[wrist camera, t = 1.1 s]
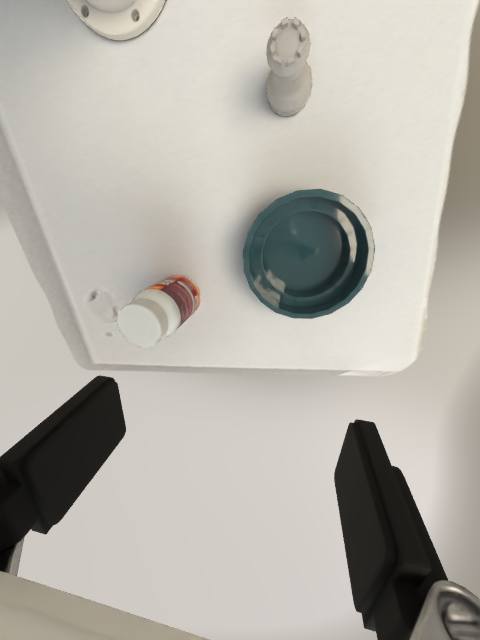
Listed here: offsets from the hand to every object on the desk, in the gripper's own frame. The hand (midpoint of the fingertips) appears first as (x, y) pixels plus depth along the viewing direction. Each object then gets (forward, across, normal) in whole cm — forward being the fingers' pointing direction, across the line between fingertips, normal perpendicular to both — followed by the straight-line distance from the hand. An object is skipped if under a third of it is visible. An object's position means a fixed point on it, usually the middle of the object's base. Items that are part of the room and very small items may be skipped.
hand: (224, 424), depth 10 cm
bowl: (+26, -4, -3) cm, 26 cm away
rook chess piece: (+26, 0, -19) cm, 32 cm away
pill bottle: (+26, +13, +4) cm, 29 cm away
